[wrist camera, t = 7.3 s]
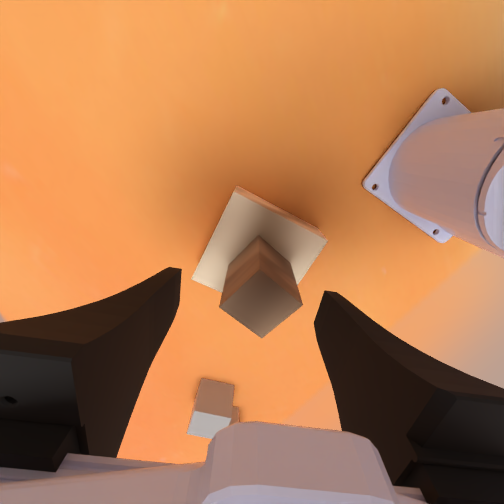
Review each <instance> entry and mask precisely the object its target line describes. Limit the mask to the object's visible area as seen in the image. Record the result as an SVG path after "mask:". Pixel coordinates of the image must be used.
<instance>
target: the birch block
mask: <svg viewBox="0 0 504 504" xmlns="http://www.w3.org/2000/svg"><path fill="white" fill-rule="evenodd" d="M258 235H259V236H260V237H262V238H263V239H264V240H265V241H266V242H267V243H268V244H270V245H271V246H272V247H273V248H274V249H275V250H276V251H277V252H279V253H280V254H281V255H282V256H283V257H284V258H285V259H287V260H288V261H289V262H290V263H291V266H292V270H293V273H294V276H295V280H296V283H297V285H298V284H299V282H300V281H301V279H302V278H303V276H304V275H305V274H306V272H307V271H308V269H309V268H310V266H311V265H312V263H313V262H314V261H315V259H316V258H317V256H318V255H319V253H320V252H321V250H322V249H323V247H324V246H325V245H326V243H327V242H328V240H327V239H326V237H325V236H324V235H323V234H322V232H321V231H320V230H319V229H318V228H317V227H315V226H313V225H311V224H309V223H307V222H306V221H304V220H302V219H300V218H298V217H296V216H294V215H292V214H290V213H289V212H287V211H285V210H283V209H281V208H279V207H277V206H275V205H273V204H272V203H270V202H268V201H266V200H264V199H262V198H260V197H258V196H256V195H255V194H253V193H251V192H249V191H247V190H245V189H243V188H241V187H239V186H238V185H236V187H235V189H234V191H233V193H232V196H231V198H230V200H229V202H228V204H227V206H226V208H225V210H224V212H223V214H222V216H221V218H220V220H219V222H218V224H217V227H216V229H215V231H214V233H213V235H212V237H211V239H210V241H209V243H208V245H207V247H206V249H205V251H204V253H203V255H202V257H201V260H200V262H199V264H198V266H197V268H196V270H195V272H194V274H193V277H192V280H194V281H196V282H199V283H201V284H203V285H206V286H208V287H210V288H212V289H215V290H217V291H219V292H223V287H224V283H225V278H226V274H227V269H228V265H229V264H230V263H231V262H232V261H233V260H234V259H235V258H236V257H237V256H238V255H239V254H240V253H241V252H242V251H243V250H244V249H245V248H246V247H247V246H248V245H249V244H250V243H251V242H252V241H253V240H254V239H255V238H256V237H257V236H258Z"/></svg>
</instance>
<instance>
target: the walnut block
mask: <svg viewBox="0 0 504 504" xmlns="http://www.w3.org/2000/svg"><path fill="white" fill-rule="evenodd" d="M302 305H303V304H302V300H301V297H300V293H299V290H298V287H297V283H296V280H295V276H294V273H293V270H292V266H291V263H290V262H289V261H288V260H287V259H285V258H284V257H283V256H282V255H281V254H280V253H279V252H277V251H276V250H275V249H274V248H273V247H272V246H271V245H270V244H268V243H267V242H266V241H265V240H264V239H263V238H262V237H260V236H259V235H258V236H257V237H256V238H255V239H254V240H253V241H252V242H251V243H250V244H249V245H248V246H247V247H246V248H245V249H244V250H243V251H242V252H241V253H240V254H239V255H238V256H237V257H236V258H235V259H234V260H233V261H232V262H231V263H230V264H229V265H228V269H227V274H226V278H225V283H224V287H223V292H222V296H221V301H220V306H219V307H220V308H221V309H222V310H224V311H225V312H226V313H228V314H229V315H231V316H232V317H233V318H235V319H236V320H237V321H239V322H240V323H242V324H243V325H244V326H246V327H247V328H248V329H250V330H251V331H252V332H254V333H255V334H257V335H258V336H259V337H261V338H263V337H264V336H265V335H267V334H268V333H269V332H270V331H271V330H273V329H274V328H275V327H276V326H278V325H279V324H280V323H281V322H283V321H284V320H285V319H286V318H288V317H289V316H290V315H291V314H292V313H294V312H295V311H296V310H297V309H299V308H300V307H301V306H302Z"/></svg>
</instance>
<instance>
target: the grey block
mask: <svg viewBox="0 0 504 504" xmlns="http://www.w3.org/2000/svg"><path fill="white" fill-rule="evenodd" d="M233 395H234V385H232V384H227V383H222V382H218V381H213V380H209V379H204V378H201V381H200V385H199V388H198V391H197V394H196V397H195V401H194V405H193V409H192V414H191V418H190V422H189V426H188V431H187V434H190V435H195V436H200V437H205V438H210V439H213V437H214V436H215V434H216V433H217V432H218V431H219V430H221V429H223V428H225V427H228V426H229V423H230V421H231V418H232V407H233Z"/></svg>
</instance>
